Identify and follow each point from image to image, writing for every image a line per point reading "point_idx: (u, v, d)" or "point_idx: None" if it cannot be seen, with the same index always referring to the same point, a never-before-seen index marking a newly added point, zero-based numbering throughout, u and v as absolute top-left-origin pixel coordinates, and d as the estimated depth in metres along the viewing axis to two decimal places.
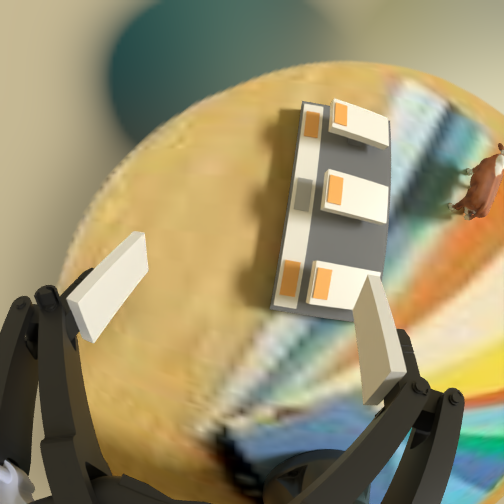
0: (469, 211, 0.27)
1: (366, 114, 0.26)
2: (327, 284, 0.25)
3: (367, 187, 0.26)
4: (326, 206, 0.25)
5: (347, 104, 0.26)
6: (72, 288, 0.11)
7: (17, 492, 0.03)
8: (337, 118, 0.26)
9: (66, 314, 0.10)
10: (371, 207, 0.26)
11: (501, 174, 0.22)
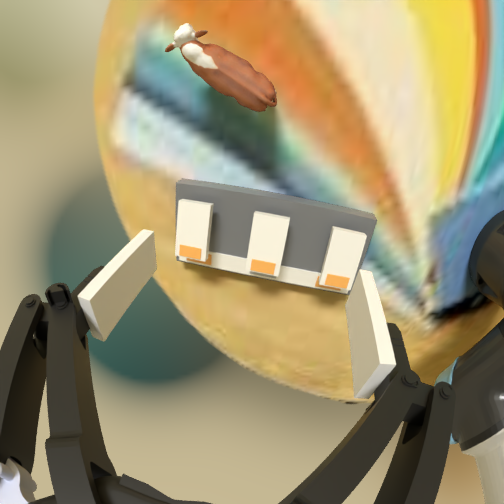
0: None
1: (182, 225, 0.32)
2: (338, 278, 0.31)
3: (257, 236, 0.31)
4: (277, 274, 0.33)
5: (177, 243, 0.33)
6: (82, 286, 0.12)
7: (19, 491, 0.03)
8: (195, 256, 0.33)
9: (77, 312, 0.10)
10: (275, 234, 0.31)
11: (211, 55, 0.20)
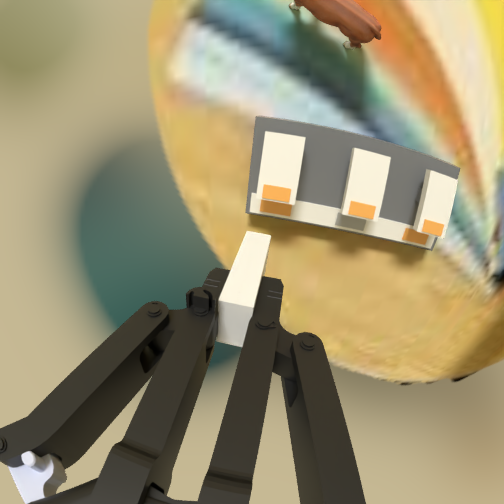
0: None
1: (268, 160, 0.27)
2: (434, 224, 0.26)
3: (357, 174, 0.26)
4: (376, 219, 0.27)
5: (260, 183, 0.27)
6: None
7: (41, 484, 0.04)
8: (283, 198, 0.28)
9: (214, 325, 0.11)
10: (376, 172, 0.25)
11: None
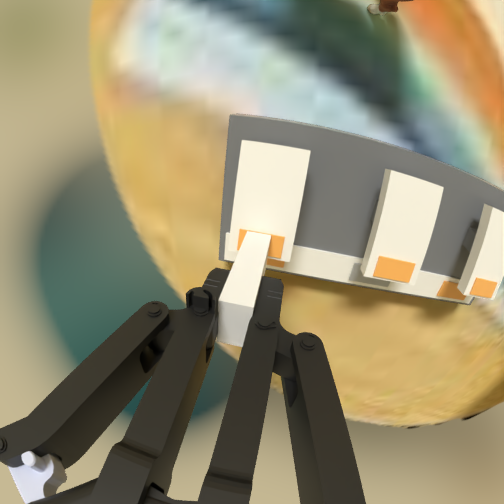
0: None
1: (247, 190, 0.16)
2: (486, 283, 0.15)
3: (393, 214, 0.15)
4: (412, 282, 0.17)
5: (234, 226, 0.17)
6: None
7: (41, 484, 0.04)
8: (271, 252, 0.17)
9: (214, 324, 0.11)
10: (422, 211, 0.15)
11: None
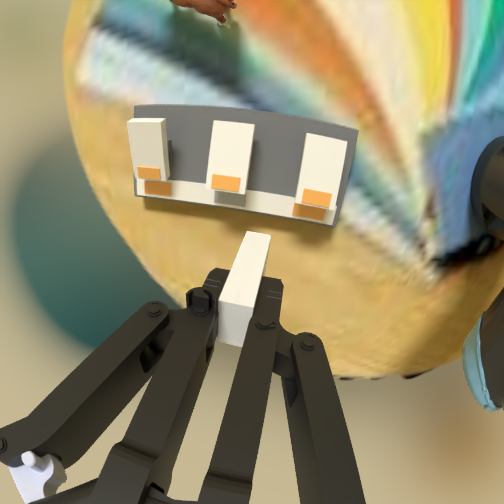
0: None
1: (135, 147, 0.26)
2: (317, 193, 0.26)
3: (218, 146, 0.25)
4: (243, 191, 0.27)
5: (135, 165, 0.28)
6: None
7: (41, 484, 0.04)
8: (155, 176, 0.28)
9: (214, 325, 0.11)
10: (239, 142, 0.25)
11: None
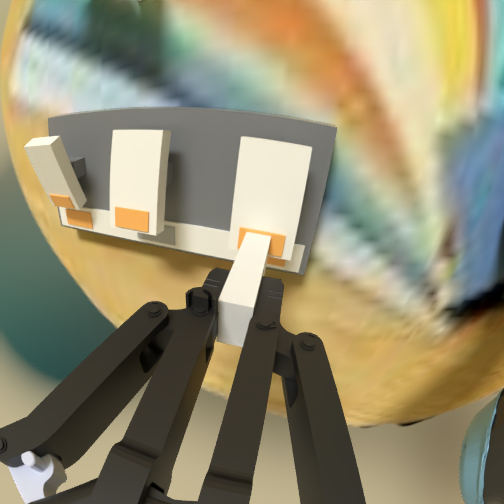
0: None
1: (40, 173, 0.17)
2: None
3: (119, 167, 0.17)
4: (154, 231, 0.18)
5: (47, 193, 0.19)
6: None
7: (41, 484, 0.04)
8: (68, 205, 0.20)
9: (214, 324, 0.11)
10: (143, 159, 0.16)
11: None
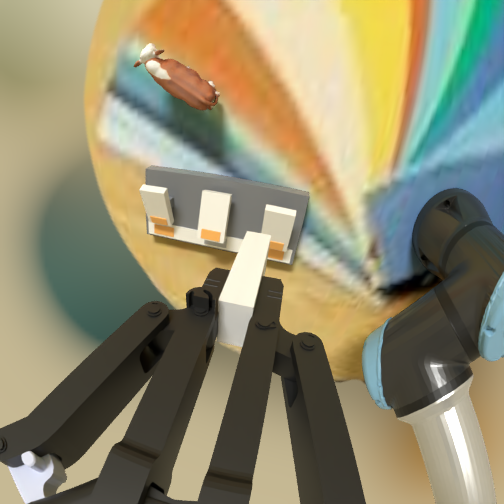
0: None
1: (147, 205, 0.39)
2: (273, 243, 0.39)
3: (205, 209, 0.38)
4: (222, 241, 0.39)
5: (148, 215, 0.41)
6: None
7: (41, 484, 0.04)
8: (163, 223, 0.41)
9: (214, 325, 0.11)
10: (219, 207, 0.38)
11: (166, 69, 0.27)
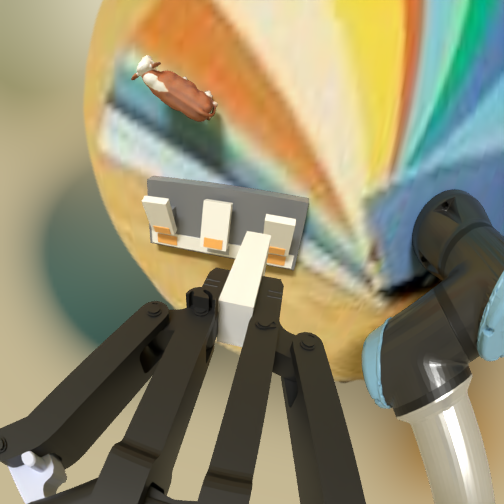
0: None
1: (150, 215, 0.40)
2: (275, 249, 0.40)
3: (207, 218, 0.39)
4: (224, 249, 0.40)
5: (151, 224, 0.42)
6: None
7: (41, 484, 0.04)
8: (166, 232, 0.43)
9: (214, 325, 0.11)
10: (221, 216, 0.39)
11: (163, 81, 0.28)
